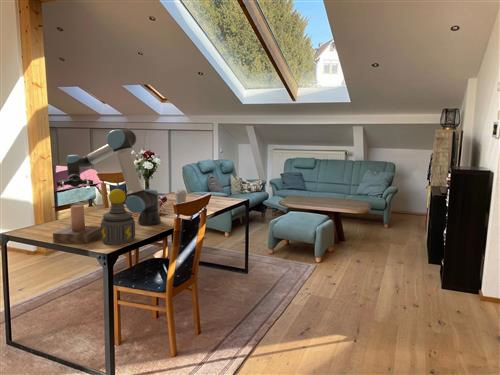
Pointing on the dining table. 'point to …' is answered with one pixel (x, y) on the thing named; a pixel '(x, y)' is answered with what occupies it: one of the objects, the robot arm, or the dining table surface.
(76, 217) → the terracotta canister
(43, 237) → the dining table surface
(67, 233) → the walnut plinth
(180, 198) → the coffee cup
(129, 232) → the decorative lamp
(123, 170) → the robot arm
